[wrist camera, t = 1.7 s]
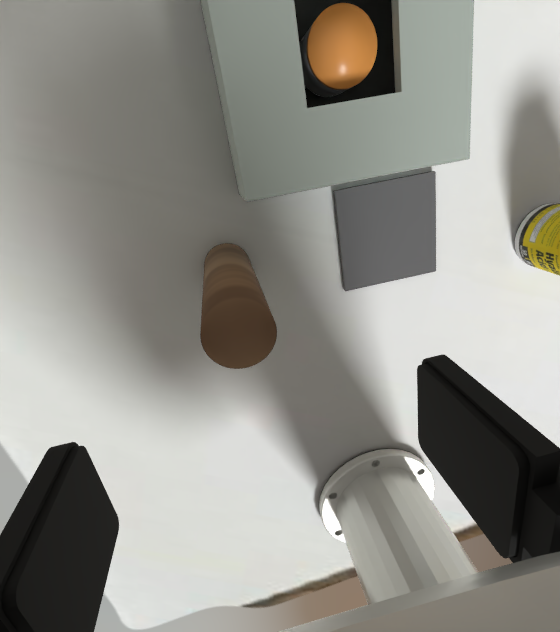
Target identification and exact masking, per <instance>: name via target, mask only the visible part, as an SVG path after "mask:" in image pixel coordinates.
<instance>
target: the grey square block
mask: <svg viewBox="0 0 560 632" xmlns="http://www.w3.org/2000/svg"><path fill="white" fill-rule="evenodd" d="M200 1H201V6H202V11H203V16H204V21H205V26H206V31H207V36H208V41H209V46H210V51H211V56H212V61H213V66H214V71H215V76H216V81H217V86H218V91H219V96H220V100H221V105H222V110H223V115H224V120H225V125H226V130H227V135H228V140H229V145H230V150H231V155H232V160H233V165H234V170H235V175H236V180H237V185H238V190H239V195H240V196H241V197H242V198H243V199H244V200H245V201H246V202H250V201H255V200H260V199H265V198H270V197H275V196H281V195H286V194H291V193H296V192H301V191H306V190H311V189H317V188H322V187H327V186H332V185H337V184H342V183H348V182H353V181H358V180H363V179H368V178H373V177H379V176H384V175H389V174H394V173H399V172H404V171H410V170H415V169H420V168H425V167H430V166H435V165H440V164H446V163H451V162H456V161H461V160H466V159H470V123H471V88H472V52H473V16H474V0H392V25H393V49H394V73H395V93H391V94H386V95H380V96H374V97H368V98H363V99H357V100H351V101H345V102H339V103H334V104H328V105H322V106H316V107H311V108H307V102H306V94H305V86H304V78H303V70H302V62H301V53H300V45H299V37H298V29H297V21H296V13H295V5H294V0H200Z"/></svg>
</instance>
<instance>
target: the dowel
mask: <svg viewBox="0 0 560 632" xmlns="http://www.w3.org/2000/svg"><path fill="white" fill-rule="evenodd" d="M200 335H201V343H202V346H203V349H204V350H205V352H206V354H207V355H208V356H209V357H210V358H211V359H212V360H213V361H214V362H216V363H218V364H219V365H222V366H224V367H228V368H234V369H240V368H247V367H250V366H253V365H255V364H257V363H259V362H261V361H262V360H263V359H265V358H266V357H267V356H268V354H269V353H270V352H271V350H272V349H273V347H274V345H275V341H276V337H277V329H276V324H275V321H274V318H273V316H272V314H271V311H270V309H269V306H268V304H267V302H266V299H265V297H264V294H263V292H262V289H261V287H260V285H259V282H258V280H257V277H256V275H255V272H254V270H253V268H252V265H251V263H250V260H249V258H248V256H247V254H246V253H245V251H244V250H243V249H242V248H240V247H239V246H237V245H234V244H229V243H225V244H220V245H217V246H215V247H214V248H212V249H211V250H210V251H209V253H208V254H207V256H206V258H205V263H204V280H203V298H202V316H201V334H200Z"/></svg>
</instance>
